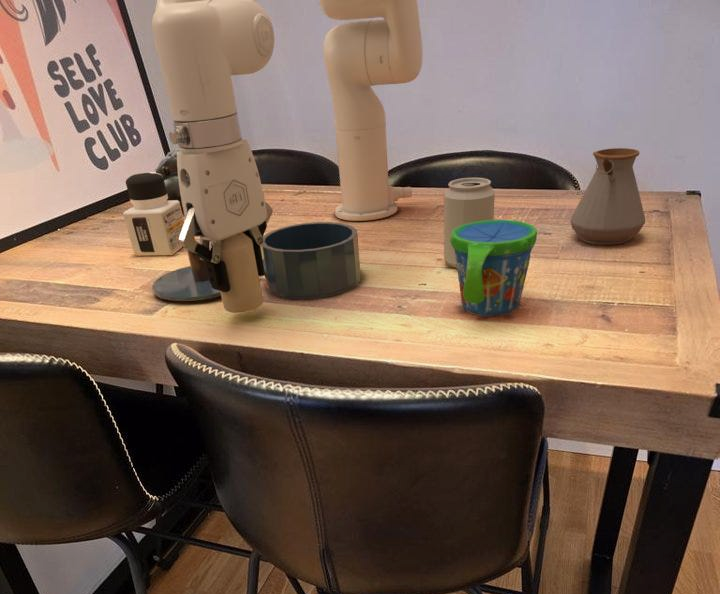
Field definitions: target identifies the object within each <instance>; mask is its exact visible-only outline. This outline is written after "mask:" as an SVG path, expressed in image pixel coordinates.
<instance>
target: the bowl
mask: <svg viewBox="0 0 720 594" xmlns="http://www.w3.org/2000/svg"><path fill="white" fill-rule="evenodd" d="M358 235H359V234H358V229H357V228H356V227H354V226H352V225H350V224H347V223H342V222H336V221H335V222H333V221H312V222H303V223H297V224H292V225H287V226H283V227H280V228H276V229H273V230H271V231H269V232H266V233H265V234H264V235H263V240H264V241H263V244H262V245H260V247H261V253H262V259H263V266H264V271H265V275H264V280H265V286H266V289H267V291H268V292H269V293H270V294H271V295H273V296H275V297H278V298H281V299H287V300H295V301H297V300H299V301H300V300H301V301H303V300H304V301H305V300H317V299H324V298H330V297H335V296H337V295H341V294H343V293H346V292H348V291H351V290H352V289H354V288H355V287H357V286H358V285H359V284H360V282H361V279H362V275H361V274H362V272H361V262H360V248H359V237H358Z"/></svg>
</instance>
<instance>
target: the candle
mask: <svg viewBox="0 0 720 594" xmlns="http://www.w3.org/2000/svg"><path fill="white" fill-rule="evenodd" d="M210 249H211V245H210ZM220 261H224V262H225V265H226V270H227V275H228V279H229V284H230V291H228V292H222V291H220V293H221V296H220V297H221V302H222V306H223V309H224V311H226V312H228V313H231V314H233V313H234V314H243V313H248V312H252V311H254V310H255V311H256V310H257V309H259V308H261V307H262V306H263V303H264V299H263V294H262V288H261V281H260V276H258V270H257V265H256V259H255V254H254V248H253V243H252V240H251V239H250V238H249V237H248V236H246V235H245V234H244V233H243V232H241V233H239V234H236V235H234V236H231V237H228V238H226V239H223V240H221V252H220Z"/></svg>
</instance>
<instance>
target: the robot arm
mask: <svg viewBox="0 0 720 594" xmlns="http://www.w3.org/2000/svg"><path fill="white" fill-rule="evenodd" d="M318 1H319V5H320V7H321V10H322V12H323V13H324V15H326V17H328V18H329V19H331V20H335V21H347V22H344V23H340V24H337V25H335V26H334V27H332V28H331V29H330V30H329V31H328V32H327V33H326V34H325V37H324V40H323V45H322V57H323V64H324V68H325V71H326V75H327V79H328V83H329V89H330V94H331V101H332V109H333V117H334V127H335V128H334V130H335V139H336V150H337V151H336V152H337V163H338V173H339V185H340V197H341V204H340V205H338V206H336V207H335V209H334V214H335V217H336V218H338V219H340V220H343V221H351V222H363V221H365V222H366V221H374V220H375V221H376V220H379V219H384V218H388V217H390V216H392V215H394V214H396V212H398V204H397V203H396V202H398V200H399V199H407V198H412V196H413V189H412V187H411V186H405V187H401V186H397V187H394V186H391V185H389V167H388V146H387V143H388V141H387V126H386V125H387V122H386V121H387V120H386V112H385V107H384V106H383V103H382V102H381V100H380V99H379V97H378V95H377V94H376V93H375V91H374V90H373V88H372V87H373V86H384V85H385V86H386V85H399V84H400V85H401V84H407V83H411V82H412V81H414V80H416V78H417V77H418V76H419V75H420V72H421V70H422V67H423V53H424V52H423V40H422V31H421V22H420V15H419V14H420V13H419V7H418V0H318ZM155 4H156V5H155V10H154V14H153V15H152V18H151V28H152V34H153V41H154V45H155V49H156V53H157V56H158V60H159V65H160V69H161V74H162V78H163V83H164V86H165V87H164V88H165V91H166V95H167V100H168V104H169V108H170V112H171V117H172V120H173V121H172V122H173V128H174V130H172V131H170V132H169V133H168V136H169V141H170V142H171V144H173V145H178V149H180V151H179V152H177V169H178V180H179V188H180V194H181V200H182V206H181V207H182V210H183V211H182V212H183V215H184V224H183V227H182V230H181V232H180V235H179V238H178V243H179V245H181V246H183V247H182V248H184V249H186V250H187V249H188V250H190V251H191V252H192V253H194V254H195V255H197V256H198V257H199V258H200V259H201V260H203V261H205V264H206V268H207V273H208V277H209V281H210V284H211V286H212V288H213V289H215V290H219V291H222V292H228V291H230V284H229V279H228V275H227V270H226V265H225V262H224V261H220V252H221V240H223V239H226V238H228V237H231V236H234V235H236V234H239V233H241V232H243V233H244V234H245V235H246V236H248V237H249V238H250V239H251V240H252V243H253V248H254V254H255V259H256V265H257V270H258V276H259V277H265V271H264V266H263V259H262V253H261V247H260V245H262V244H263V241H264V240H263V236H264V235H265V234H266V230H267V228H268V223H269V221H270V219H271V217H272V215H273V211H274V209H273V208H272V206H271V205H269V204H268V203H267V202H266V199H265V193H264V190H263V185H262V181H261V177H260V173H259V169H258V166H257V163H256V160H255V157H254V154H253V150H252V148H251V147H250V143H249V140H247V139H243V138H242V131H241V128H240V127H241V126H240V120H239V115H238V114H239V113H238V108H237V103H236V102H237V101H236V98H235V97H236V96H235V91H234V87H233V86H234V85H233V79H232V76H241V75H242V76H243V75H252V74H255V73H258V72H259V71H261V70H262V69H264V68H265V67H266V66H267V65H268V63H269V62H270V60H271V58H272V57H273V53H274V49H275V32H274V31H275V30H274V27H273V23H272V20H271V18H270V16H269V14H268V13H267V11H266V10H265V9H264V7H263V6H262V5H260V4H259V3H258V2H256V1H255V0H156V3H155ZM377 18H383V19H377ZM365 19H370V20H365ZM373 19H375V20H373ZM352 20H353V21H352ZM354 20H358V21H354ZM348 21H349V22H348ZM196 237H199V241H197V240H196ZM210 246H211V248H210Z"/></svg>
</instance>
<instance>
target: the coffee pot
mask: <svg viewBox="0 0 720 594" xmlns="http://www.w3.org/2000/svg"><path fill="white" fill-rule="evenodd" d="M639 155H640V150H638V149H635V148H628V147H627V148H625V147H613V148H605V149H600V150H596V151H593V153H592V156H593V157H594V158H595V161H596V165H595V172H594V174H593V175H592V178H591V179H590V181H589V183H588V185H587V187H586V189H585V191H584V192H583V194H582V197H580V200H579V202H578V204H577V206H576V207H575V209H574V211H573V213H572V215H571V218H570V225H571V228H572V229H573V231H574V232H575V234H576V235H577V236H579V237H580V239H581V241H583V242H585V243H588V244H593V245H601V246H610V245H619V244H620V245H621V244H623V243H626V242H628V241H629V240H631V238H632V237H634V236H636V235H637V234H638V233H639V232H640V231H641V230H642V229H643V227H644V226H645V224H646V216H645V212H644V207H643V203H642V199H641V195H640V191H639V187H638V183H637V179H636V175H635V171H634V163H635V161H636V159H637V157H638V156H639Z"/></svg>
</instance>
